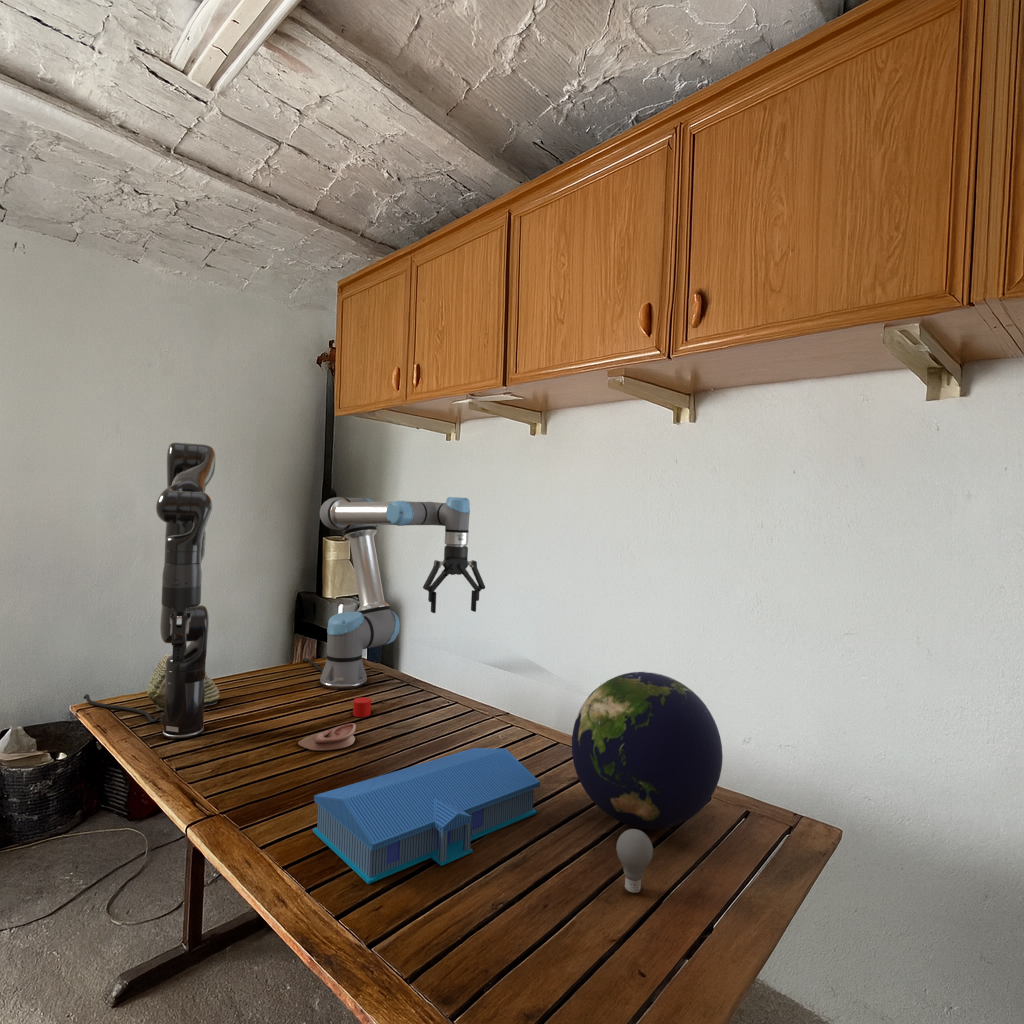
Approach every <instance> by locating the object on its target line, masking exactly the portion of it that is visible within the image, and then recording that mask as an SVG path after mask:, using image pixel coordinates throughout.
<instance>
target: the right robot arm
mask: <svg viewBox="0 0 1024 1024" xmlns="http://www.w3.org/2000/svg"><path fill="white" fill-rule="evenodd" d="M470 504H471V503H470V500H469V498H468V497H457V496H448V497H447V498H446V502H436V501H408V500H406V501H405V500H395V501H374V500H373V499H371V498H365V497H342V496H336V497H330V498H328V499H327V500H325V501H324V502H323V503H322V505H321V506H320V509H319V518H320V520H321V522H322V524H323V525H324V526H325V527H327V528H328V529H331V530H336V531H343V536H344V538H345V539H347V540H348V541H349V544H350V545H349V546H350V551H351V558H352V563H353V564H352V565H353V570H354V576H355V583H356V588H357V595H358V601H359V607H358V609H357V610H356V611H344V612H340V613H339V612H338V613H336V614H334V615H332V616H331V617H330V618H329V620H328V623H327V627H326V628H327V629H326V632H327V639H326V641H327V642H326V659H325V660H326V661H325V664H324V666H323V668H322V667H320V666H319V665H318V664H317V663H316V662H314V661H313V660H311V659H310V658H308V657H305V658H303V659H302V660H301V662H302V663H304V662H308V663H310V664H311V665H312V666H314V667H315V668H316V669H317V670H319V671H320V672H321V675H320V678H319V685H320V686H321V687H323V688H325V689H329V690H339V691H340V690H341V691H343V690H344V691H345V690H353V689H359V688H361V687H364V686H365V685H366V684H367V680H368V677H367V672H366V668H365V666H364V662H363V650H366V649H372V648H376V647H377V648H378V647H383V646H386V645H388V644H391V643H393V642H394V641H395V640H396V639H397V637H398V635H399V633H400V627H401V626H400V619H399V616H398V615H397V614H396V613H395V611H392V610H391V605H390V604H388V602H386V601H385V596H384V590H383V586H382V579H381V573H380V568H379V567H380V566H379V562H378V560H379V559H378V555H377V550H376V544H375V538H374V537H375V535H376V534H377V532H378V530H377V529H378V527H379V526H397V527H404V526H440V527H441V526H442V527H444V545H445V546H444V549H443V550H444V551H443V561H441V560H437V559H435V560H434V561H433V566H432V569H431V570H430V572H429V574H428V576H427V577H426V580H425V581H424V584H423V585H422V589H423V590H425V591H427V592H428V597H427V598H428V602H429V603H430V613H432V614H436V611H437V610H436V609H437V592H436V590H437V588H438V587H439V586H440V585H441V584H442V582H443V581H444V580H445V579H446V578H447V577H448V576H449V575H451V576H455V575H457V576H461V575H462V576H463V577H464V578H465V580H466V581H467V582H468V583H469V584H470V585H469V586H471V587H472V589H473V590H471V598H470V599H471V600H470V611H472V612H474V613H476V612H477V602H479V601H480V592H481V591H482V590H485V589H486V585H485V582H484V581H483V578H482V575H481V574H480V571H479V568H478V562H477V561H476V560H473V559H471V560H470V561H468V558H469V557H468V556H469V547H468V545H469V533H470V532H469V530H470V529H469V526H470V513H471V510H470V509H471V508H470V507H471V506H470ZM468 566H469V567H470V568H471V571H472V574H473V576H474V578H475V580H476V581H475V580H474V578H472V576H471V575H470V573H469V571H468V570H467V568H468ZM442 567H443V570H442V571H441V572H440V574H439V575H438V576H437V574H438V572H439V569H440V568H442ZM436 576H437V578H436ZM434 579H435V580H434Z"/></svg>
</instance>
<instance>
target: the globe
mask: <svg viewBox="0 0 1024 1024" xmlns="http://www.w3.org/2000/svg"><path fill="white" fill-rule="evenodd" d="M571 735H572V736H571V754H572V761H573V766H574V770H575V773H576V776H577V779H578V780H579V782H580V784H581V786H582V789H583V790H584V791H585V793H586V794H587V796H588V797H589V798H590V800H591V801H592V802H593V803H594V804H595V805H596V807H598V808H599V810H601V811H602V812H603V813H605V814H606V815H607V816H609V817H610V818H612V819H613V820H615V821H617V822H619V823H621V824H624V825H626V826H629V827H632V828H635V829H639V830H652V831H653V830H665V829H669V828H672V827H673V828H674V827H676V826H679V825H681V824H683V823H685V822H687V821H689V820H690V819H692V818H693V817H695V816H696V815H697V814H698V813H700V812H701V811H702V809H703V808H704V807H705V806H707V804H708V802H709V801H710V800H711V798H712V797H713V795H714V793H715V791H716V789H717V787H718V784H719V781H720V778H721V774H722V769H723V768H722V767H723V756H724V755H723V744H722V739H721V734H720V731H719V728H718V726H717V723H716V720H715V719H714V717H713V714H712V713H711V711H710V710H709V708H708V706H707V705H706V703H705V702H704V701H703V700H702V699H701V698H700V696H699V695H697V694H696V692H694V691H693V689H690V688H689V687H688V686H686V685H685V684H684V683H682V682H680V681H679V680H676V679H675V678H672V677H670V676H668V675H664V674H662V673H657V672H653V671H633V672H627V673H623V674H619V675H616V676H614V677H612V678H610V679H608V680H606V681H605V682H603V683H601V684H600V685H599V686H597V687H596V688H595V689H594V690H592V692H591V693H590V694H589V695H588V697H587V698H586V699H585V701H584V702H583V704H582V705H581V707H580V709H579V710H578V713H577V716H576V718H575V721H574V724H573V729H572V734H571Z"/></svg>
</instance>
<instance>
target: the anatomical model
mask: <svg viewBox="0 0 1024 1024" xmlns="http://www.w3.org/2000/svg"><path fill="white" fill-rule="evenodd" d="M356 725H357V724H356V723H352V722H350V723H346V724H342V725H339V726H336V727H333V728H329V729H326V730H324V731H320V732H317V733H313V734H311V735H308V736H306V737H304V738H302V739H300V740H298V742H297V745H299V746H300V747H302V748H304V749H306V750H309V751H332V750H339V749H344V748H347V747H350V746H351V745H353V744H354V743H355V740H356V737H355V735H354V734H355V731H356V727H357V726H356Z"/></svg>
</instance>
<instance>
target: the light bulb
mask: <svg viewBox="0 0 1024 1024" xmlns="http://www.w3.org/2000/svg"><path fill="white" fill-rule="evenodd" d="M615 849H616V854H617V857H618V859H619V861H620V863H621V865H622V867H623V873H624V874H623V875H624V876H625V878H624V888H625V890H627V891H628V892H630V893H634V894H635V893H639V892H640V891H641V889H642V887H641V886H642V879H643V877H644V875H645V871H646V868H647V867H648V866H649V864H650V863H651V861H652V859H653V855H654V847H653V843H652V841H651V838H649V836H648V835H647V834H646V833H645V832H643V831H642V830H641V829H638V828H629V829H627V830H625V831H623V832H622V833H621V834H620V835H619V837H618V839H617V841H616V847H615Z"/></svg>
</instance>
